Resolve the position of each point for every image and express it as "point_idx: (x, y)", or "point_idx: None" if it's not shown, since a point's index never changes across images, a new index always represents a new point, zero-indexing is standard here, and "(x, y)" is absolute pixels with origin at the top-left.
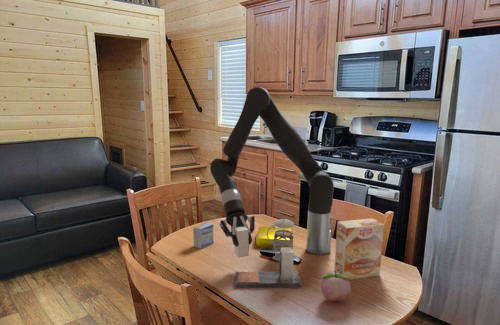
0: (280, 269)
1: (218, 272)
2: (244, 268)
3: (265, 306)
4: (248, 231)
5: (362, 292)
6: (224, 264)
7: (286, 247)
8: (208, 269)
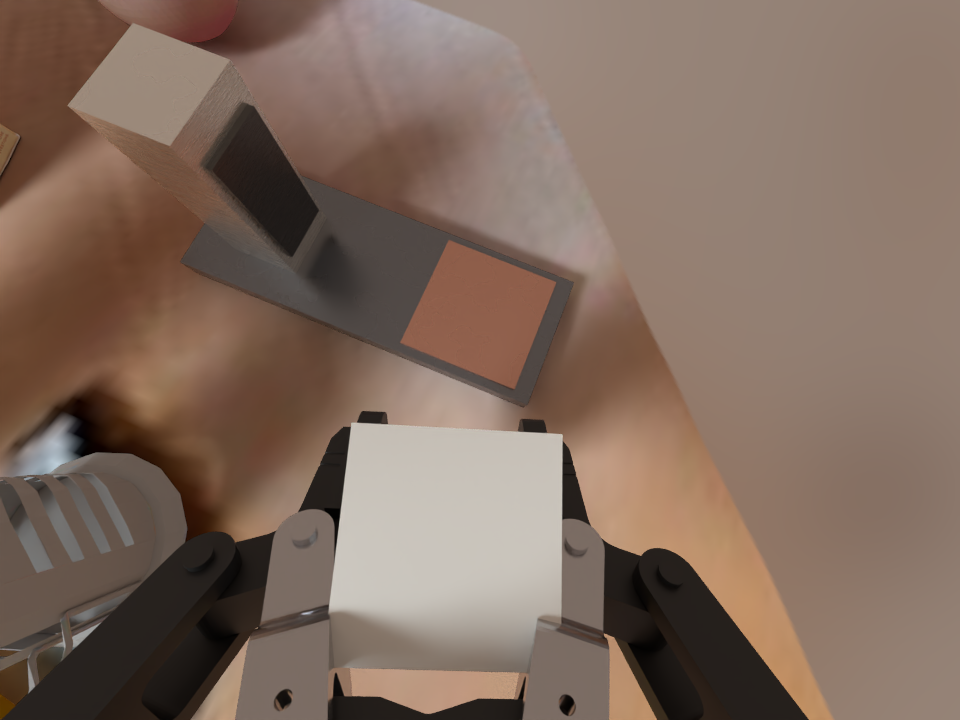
0: (302, 184)
1: (608, 490)
2: None
3: (496, 113)
4: (315, 529)
5: (38, 36)
6: None
7: (11, 480)
8: None
